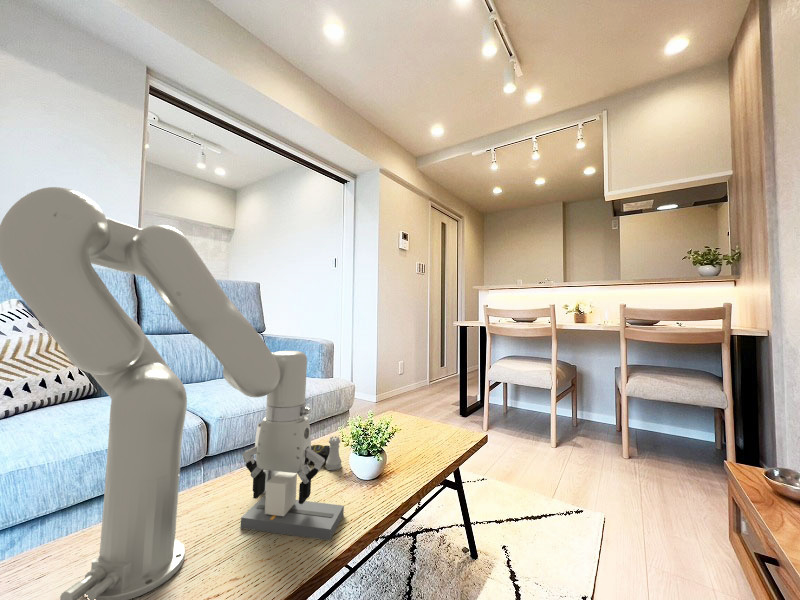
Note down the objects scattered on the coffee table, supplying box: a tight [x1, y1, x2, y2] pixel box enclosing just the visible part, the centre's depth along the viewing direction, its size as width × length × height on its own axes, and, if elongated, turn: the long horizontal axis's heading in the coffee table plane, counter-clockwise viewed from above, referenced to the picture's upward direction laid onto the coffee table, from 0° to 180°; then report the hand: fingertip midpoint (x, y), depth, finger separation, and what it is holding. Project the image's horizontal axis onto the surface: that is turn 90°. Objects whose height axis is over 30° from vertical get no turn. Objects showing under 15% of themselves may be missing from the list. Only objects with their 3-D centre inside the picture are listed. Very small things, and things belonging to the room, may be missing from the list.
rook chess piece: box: [325, 435, 343, 472], centre depth 92 cm, size 4×4×8 cm
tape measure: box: [309, 444, 330, 465], centre depth 95 cm, size 7×7×4 cm
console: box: [240, 495, 345, 541], centre depth 67 cm, size 8×18×2 cm, turn 82°
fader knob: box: [265, 471, 298, 516], centre depth 68 cm, size 5×4×6 cm
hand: (281, 497), depth 68 cm, fingers open, 9 cm apart
